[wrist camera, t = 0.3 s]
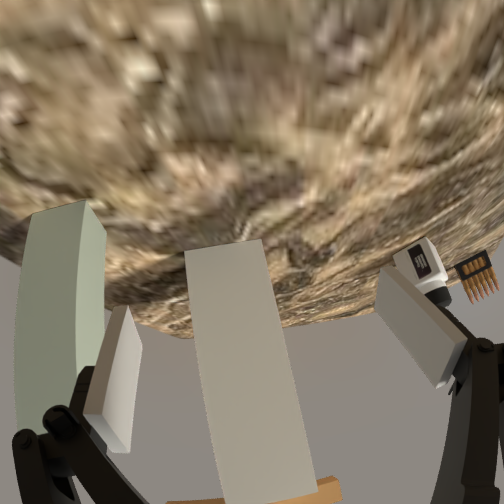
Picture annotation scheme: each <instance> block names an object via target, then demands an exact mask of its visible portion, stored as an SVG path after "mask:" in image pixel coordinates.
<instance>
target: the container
mask: <svg viewBox="0 0 504 504" xmlns="http://www.w3.org/2000/svg"><path fill="white" fill-rule="evenodd" d="M393 259H394V262H395V264H396V267H397V269H398V271H399V272H400V273H401V274H402V275H403V276H404V277H405V278H407V279H408V280H409V281H410V282H411V283H412V284H413V285H414V286H415V287H416V288H417V289H418V290H419V291H420V292H421V293H423V294H424V295H425V296H426V297H427V298H428V299H429V300H430V301H431V302H432V303H433V304H434V305H435V306H437V305H440V306H442V307H444V308H446V307H448V306H449V304H450V303H451V301H452V299H451V296H450V294H449V291H448V289H447V286H446V284H445V282H444V281H446V280H448V276H447V274H446V271H445V269H444V266H443V264H442V262H441V259H440V257H439V255H438V253H437V250H436V248H435V246H434V245H433V244H432V243H431V242H430V241H429V240H428V239H427V237H423V238H421V239H420V240H418V241H416V242H414V243H413V244H411V245H409V246H408V247H406V248H404V249H402V250H401V251H399V252H397V253H395V254H394V255H393Z"/></svg>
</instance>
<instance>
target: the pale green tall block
mask: <svg viewBox="0 0 504 504" xmlns="http://www.w3.org/2000/svg"><path fill="white" fill-rule="evenodd" d="M106 233H107V232H106V231H105V229H104V228H103V226H102V225H101V223H100V221H99V220H98V218H97V217H96V215H95V214H94V212H93V210H92V209H91V207H90V206H89V204H88V202H87V201H86V200H84V201H80V202H76V203H72V204H68V205H64V206H60V207H56V208H52V209H49V210H45V211H41V212H38V213H34V214H32V217H31V221H30V226H29V230H28V235H27V240H26V245H25V250H24V256H23V261H22V268H21V275H20V282H19V289H18V298H17V307H16V319H15V320H16V321H15V336H14V337H15V338H14V391H15V408H16V418H17V429H18V431H20V430H22V429H26V428H28V429H31V430H33V431H34V432H35V433H36V434H37V435H40V434H44V433H48V432H47V430H46V429H45V428H44V427H43V423H42V419H43V415H44V414H45V412H46V411H47V410H48V409H49V408H51V407H53V406H55V405H65V406H67V407H68V408H69V404H70V401H71V397H72V394H73V393H74V391H73V390H74V387H75V385H76V381H77V377H78V374H79V373H80V372H81V370H82V369H83V368H84V367H85V366H95V365H96V362H97V358H98V355H99V351H100V348H101V345H102V342H103V339H104V335H105V328H104V273H105V249H106Z"/></svg>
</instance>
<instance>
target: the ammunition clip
mask: <svg viewBox="0 0 504 504" xmlns="http://www.w3.org/2000/svg"><path fill="white" fill-rule="evenodd" d="M477 261H478V262H477ZM478 263H479V264H478ZM474 268H475V269H474ZM455 269H456V271H457V274H458V276H459V278H460V280H461V282H462V284H463V287H464V289H465V291H466V293H467V295H468V297H469V300H470V301H471V303H472V304H473V297H472V294H471V291H470V288H471V290H472V292H473V294H474V296H475V298H476V300H477V301H479V298H478V294H477V291H476V287H477V289H478V291H479V293H480V295H481V297H482V298H483V299H484V294H483V290H482V287H481V284H482V286H483V288H484V291H485V293H486V294H487V295H488V296H489V291H488V287H487V285H486V281H487V283H488V285H489V288H490V289H491V291H492V292H493V293H494V288H493V285H492V282H491V279H492V280H493V282H494V285H495V287H496V288H497V290H498V291H499V285H498V282H497V279H496V275H495V273H494V270H493V268H492V265H491V262H490V259H489V257H488V254H487V252H486V250H484V251H482V252H480V253H478V254H476V255H474V256H472V257H470V258H468V259H466V260H464V261H462V262H460V263H458V264H456V265H455ZM462 269H463V270H462ZM488 272H489V273H488ZM477 275H478V276H477ZM483 275H484V276H483ZM484 277H485V278H484ZM490 277H491V278H490ZM472 278H473V279H472ZM479 280H480V281H479ZM485 280H486V281H485ZM467 281H468V282H467ZM474 283H475V284H474ZM480 283H481V284H480ZM475 285H476V287H475ZM469 286H470V287H469Z"/></svg>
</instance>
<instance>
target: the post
mask: <svg viewBox="0 0 504 504" xmlns="http://www.w3.org/2000/svg"><path fill="white" fill-rule="evenodd" d="M184 255H185V265H186V274H187V284H188V292H189V301H190V309H191V317H192V325H193V332H194V339H195V346H196V353H197V360H198V366H199V373H200V378H201V385H202V390H203V397H204V402H205V408H206V414H207V419H208V425H209V430H210V435H211V440H212V445H213V449H214V455H215V460H216V464H217V468H218V473H219V477H220V482H221V487H222V491H223V495H224V499H225V503H226V504H267V503H272V502H278V501H282V500H287V499H292V498H296V497H300V496H304V495H308V494H312V493H316V492H318V487H317V482H316V478H315V473H314V469H313V464H312V459H311V454H310V450H309V446H308V441H307V436H306V432H305V427H304V423H303V418H302V414H301V410H300V405H299V400H298V396H297V392H296V387H295V383H294V379H293V374H292V369H291V365H290V361H289V356H288V352H287V348H286V343H285V340H284V335H283V330H282V326H281V322H280V317H279V313H278V309H277V305H276V300H275V296H274V292H273V288H272V283H271V279H270V275H269V271H268V266H267V262H266V258H265V254H264V250H263V246H262V241H261V239H256V240H250V241H244V242H237V243H231V244H225V245H219V246H212V247H206V248H200V249H194V250H188V251H184Z"/></svg>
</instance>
